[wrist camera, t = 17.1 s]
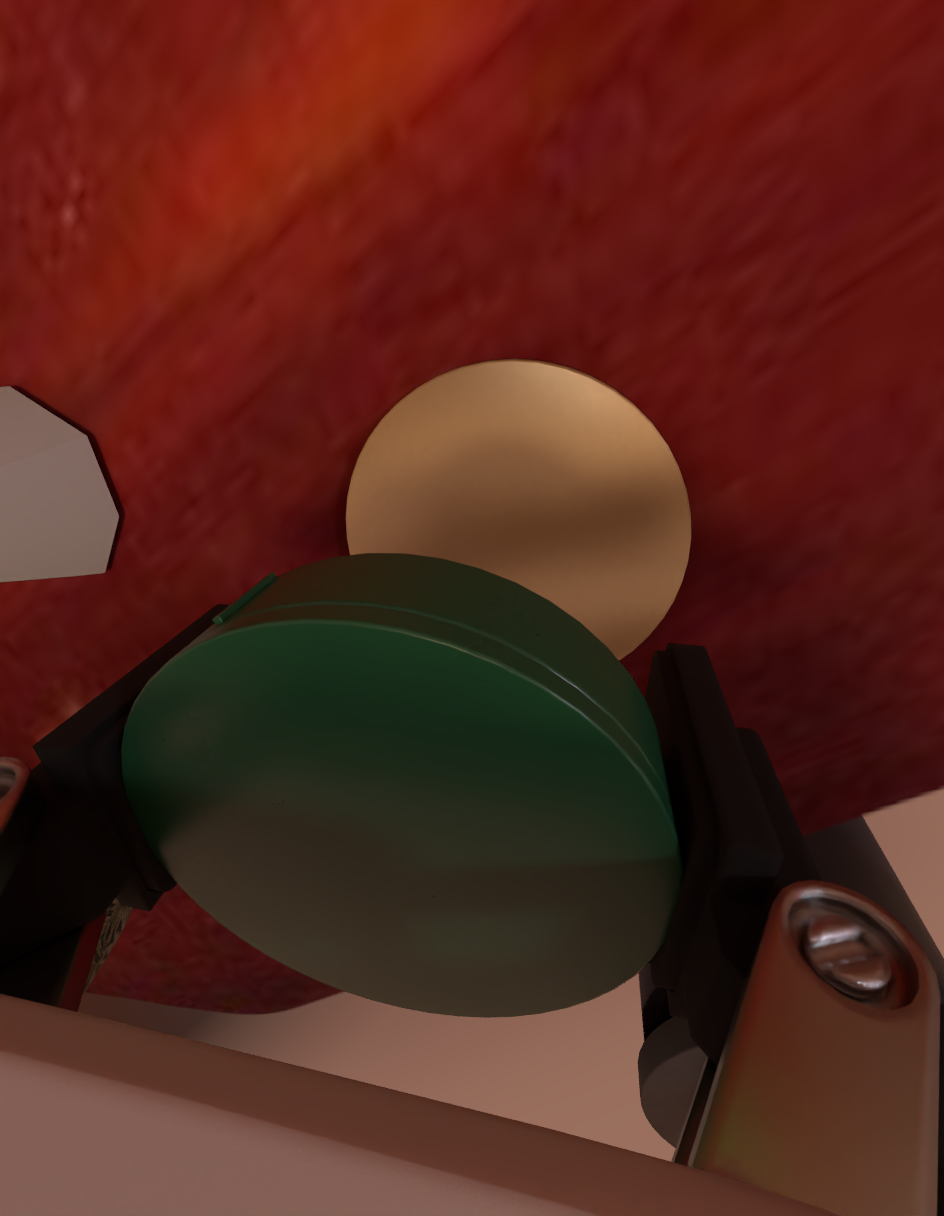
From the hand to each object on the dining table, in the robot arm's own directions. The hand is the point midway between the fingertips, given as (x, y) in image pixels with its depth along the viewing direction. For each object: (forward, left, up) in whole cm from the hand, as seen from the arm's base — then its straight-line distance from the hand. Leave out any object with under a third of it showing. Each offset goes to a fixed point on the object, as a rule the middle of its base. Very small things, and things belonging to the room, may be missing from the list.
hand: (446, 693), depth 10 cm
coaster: (0, 0, -8) cm, 8 cm away
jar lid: (0, 0, +3) cm, 3 cm away
